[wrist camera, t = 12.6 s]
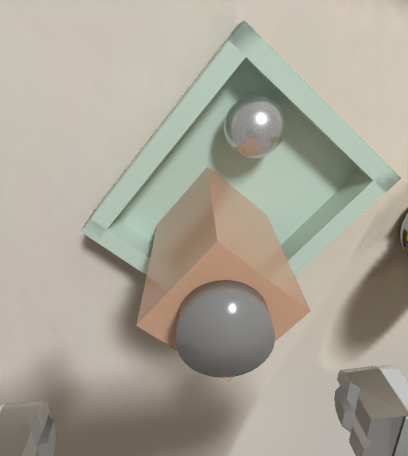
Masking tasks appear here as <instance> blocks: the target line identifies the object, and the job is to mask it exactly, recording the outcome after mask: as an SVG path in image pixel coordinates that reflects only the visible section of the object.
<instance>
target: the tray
mask: <svg viewBox="0 0 408 456" xmlns="http://www.w3.org/2000/svg"><path fill="white" fill-rule="evenodd" d="M249 95H262V96H266V97H268V98H270V99H272V100H273V101H275V102H276V103H277V104H278V105H279V107H280V108H281V110H282V111H283V114H284V117H285V122H286V129H285V134H284V137H283V140H282V142H281V143H280V145H279V146H278V147H277V148H276V149H275V150H274V151H273V152H272V153H270V154H268V155H266V156H264V157H261V158H247V157H244V156H241V155H239V154H238V153H236V152H235V151H234V150H233V149H232V148H231V147H230V146H229V144H228V142H227V140H226V138H225V134H224V121H225V117H226V115H227V113H228V111H229V109H230V108H231V107H232V105H233V104H234V103H236V102H237V101H238V100H240V99H241V98H243V97H246V96H249ZM207 166H208V167H209V168H211V169H212V170H213V171H214V172H215V173H217V174H218V175H219V176H220V177H222V178H223V179H224V180H225V181H226V182H228V183H229V184H230V185H231V186H232V187H234V188H235V189H236V190H237V191H239V192H240V193H241V194H242V195H243V196H245V197H246V198H247V199H248V200H249V201H251V202H252V203H253V204H254V205H256V206H257V207H258V208H259V209H260V210H262V211H263V212H264V213H265V214H267V216H268V218H269V221H270V223H271V225H272V227H273V229H274V232H275V234H276V236H277V238H278V240H279V243H280V245H281V247H282V249H283V252H284V254H285V256H286V258H287V260H288V263H289V265H290V267H291V269H292V271H293V274H294V276H295V275H296V274H297V273H298V272H299V271H300V270H301V269H302V268H303V267H304V266H305V265H307V264H308V263H309V262H310V261H311V260H312V259H313V258H314V257H315V256H316V255H318V254H319V253H320V252H321V251H322V250H323V249H324V248H325V247H326V246H327V245H328V244H330V243H331V242H332V241H333V240H334V239H335V238H336V237H337V236H338V235H339V234H341V233H342V232H343V231H344V230H345V229H346V228H347V227H348V226H349V225H350V224H351V223H353V222H354V221H355V220H356V219H357V218H358V217H359V216H360V215H361V214H362V213H363V212H365V211H366V210H367V209H368V208H369V207H370V206H371V205H372V204H373V203H374V202H376V201H377V200H378V199H379V198H380V197H381V196H382V195H383V194H384V193H385V192H386V191H388V190H389V189H390V188H391V187H392V186H393V185H394V184H395V183H396V182H397V181H399V180H400V179H401V178H400V177H399V176H398V175H397V174H396V172H395V171H394V170H393V169H392V168H391V167H390V166H389V165H388V164H387V163H386V162H385V161H384V160H383V159H382V158H381V157H380V156H379V155H378V154H377V153H376V152H375V151H374V150H373V149H372V148H371V147H370V146H369V145H368V144H367V143H366V142H365V141H364V140H363V139H362V138H361V137H360V136H359V135H358V134H357V133H356V132H355V131H354V130H353V129H352V128H351V127H350V126H349V125H348V124H347V123H346V122H345V121H344V120H343V119H342V118H341V117H340V116H339V115H338V114H337V113H336V112H335V111H334V110H333V109H332V108H331V107H330V106H329V105H328V104H327V103H326V102H325V101H324V100H323V99H322V98H321V97H320V96H319V95H318V94H317V93H316V92H315V91H314V90H313V89H312V88H311V87H310V86H309V85H308V84H307V83H306V82H305V81H304V80H303V79H302V78H301V77H300V76H299V75H298V74H297V73H296V72H295V71H294V70H293V69H292V68H291V67H290V66H289V65H288V64H287V63H286V62H285V61H284V60H283V59H282V58H281V57H280V56H279V55H278V54H277V53H276V52H275V51H274V50H273V49H272V48H271V47H270V46H269V45H268V44H267V43H266V42H265V41H264V40H263V39H262V38H261V37H260V36H259V35H258V34H257V33H256V32H255V30H254V29H253V28H252V27H251V26H250V25H249V24H248V23H247V22H246V21H243V22H242V23H240V24H238V25H237V27H236V28H235V29H234V31H233V32H232V33H231V35H230V36H229V37H228V38H227V40H226V41H225V42H224V44H223V45H222V46H221V47H220V49H219V50H218V51H217V53H216V54H215V55H214V56H213V58H212V59H211V60H210V62H209V63H208V64H207V66H206V67H205V68H204V69H203V71H202V72H201V73H200V75H199V76H198V77H197V78H196V80H195V81H194V82H193V84H192V85H191V86H190V87H189V89H188V90H187V91H186V93H185V94H184V95H183V97H182V98H181V99H180V100H179V102H178V103H177V104H176V106H175V107H174V108H173V109H172V111H171V112H170V113H169V115H168V116H167V117H166V118H165V120H164V121H163V122H162V124H161V125H160V126H159V128H158V129H157V130H156V131H155V133H154V134H153V135H152V137H151V138H150V139H149V140H148V142H147V143H146V144H145V146H144V147H143V148H142V150H141V151H140V152H139V153H138V155H137V156H136V157H135V159H134V160H133V161H132V162H131V164H130V165H129V166H128V168H127V169H126V170H125V171H124V173H123V174H122V175H121V177H120V178H119V179H118V181H117V182H116V183H115V184H114V186H113V187H112V188H111V190H110V191H109V192H108V193H107V195H106V196H105V197H104V199H103V200H102V201H101V202H100V204H99V205H98V206H97V208H96V209H95V210H94V212H93V213H92V214H91V216H90V217H89V219H88V221H87V222H86V224H85V226H84V227H83V229H82V230H81V232H82V233H83V234H85V235H86V236H88V237H89V238H91V239H92V240H94V241H95V242H97V243H98V244H100V245H101V246H103V247H104V248H106V249H107V250H109V251H110V252H112V253H113V254H115V255H117V256H118V257H120V258H121V259H123V260H124V261H126V262H127V263H129V264H130V265H132V266H133V267H135V268H136V269H138V270H139V271H141V272H142V273H144V274H145V275H147V271H148V266H149V261H150V257H151V252H152V247H153V242H154V237H155V232H156V228H157V224H158V223H159V222H160V220H161V219H162V218H163V217H164V216H165V215H166V214H167V212H168V211H169V210H170V209H171V208H172V207H173V205H174V204H175V203H176V202H177V201H178V200H179V199H180V197H181V196H182V195H183V194H184V193H185V192H186V191H187V189H188V188H189V187H190V186H191V185H192V184H193V182H194V181H195V180H196V179H197V178H198V177H199V176H200V174H201V173H202V172H203V171H204V170H205V169H206V168H207Z"/></svg>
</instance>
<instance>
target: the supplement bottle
mask: <svg viewBox="0 0 408 456" xmlns="http://www.w3.org/2000/svg"><path fill="white" fill-rule="evenodd" d="M400 239H401V244H402V247H403V249H404V251H405V253H406V254H407V255H408V213H407V215H406V216H405V219H404V221H403V223H402V226H401V231H400Z"/></svg>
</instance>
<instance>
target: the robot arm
mask: <svg viewBox="0 0 408 456" xmlns="http://www.w3.org/2000/svg"><path fill="white" fill-rule="evenodd" d="M337 380H338V382H339V384H340V387H339V388H338V389H337V390H336V391H335V398H334V401H335V408H336V412H337V415H338V418H339V420H340V423H341V425H342V427H344V428H345V429H346V430H348V431H349V432H350V433H351V435H350V439H349V442H350V445H351V447H352V449H353V451H354V453H355V455H356V456H408V382H407V381H406V380H405V378H404V377H403V375H402V374H401V373H400V371H399V370H398V369H397V367H395V366H394V365H383V366H375V367H373V366H371V367H363V368H354V369H345V370H340V372H339V373H338V378H337ZM49 411H50V408H49V405H48V403H47V401H35V402H21V403H8V404H0V456H53V454H54V450H55V444H56V427H55V423H54V420H52V419H51V418H49V417H48V414H49Z"/></svg>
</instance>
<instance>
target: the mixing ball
mask: <svg viewBox="0 0 408 456" xmlns="http://www.w3.org/2000/svg"><path fill="white" fill-rule="evenodd" d="M285 129H286V122H285V117H284V114H283V111H282V110H281V108H280V107H279V105H278V104H277V103H276V102H275V101H273V100H272V99H270V98H268V97H266V96H262V95H249V96H246V97H243V98H241V99H240V100H238V101H237V102H236V103H234V104H233V105H232V107H231V108H230V109H229V111H228V113H227V115H226V117H225V121H224V134H225V138H226V140H227V142H228V144H229V146H230V147H231V148H232V149H233V150H234V151H235V152H236V153H238V154H239V155H241V156H244V157H247V158H261V157H264V156H266V155H268V154H270V153H272V152H273V151H274V150H275V149H276V148H277V147H278V146H279V145H280V143H281V142H282V140H283V137H284V134H285Z"/></svg>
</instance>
